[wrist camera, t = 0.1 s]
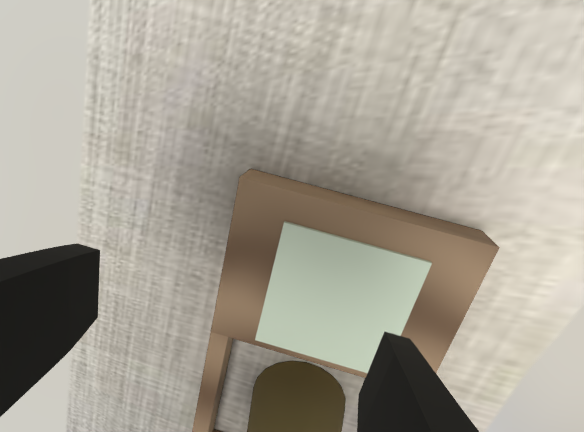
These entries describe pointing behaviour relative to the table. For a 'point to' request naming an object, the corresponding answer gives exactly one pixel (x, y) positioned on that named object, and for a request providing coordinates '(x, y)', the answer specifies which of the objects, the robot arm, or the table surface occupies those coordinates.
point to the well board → (336, 280)
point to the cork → (296, 400)
